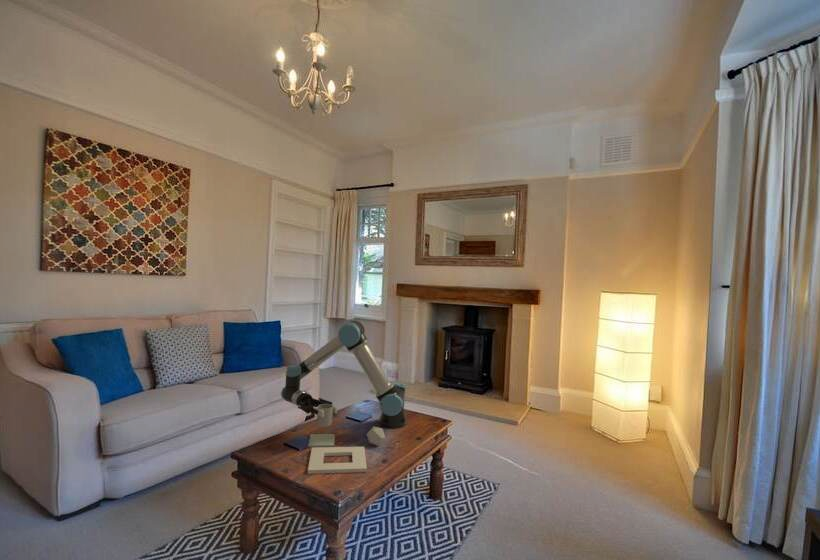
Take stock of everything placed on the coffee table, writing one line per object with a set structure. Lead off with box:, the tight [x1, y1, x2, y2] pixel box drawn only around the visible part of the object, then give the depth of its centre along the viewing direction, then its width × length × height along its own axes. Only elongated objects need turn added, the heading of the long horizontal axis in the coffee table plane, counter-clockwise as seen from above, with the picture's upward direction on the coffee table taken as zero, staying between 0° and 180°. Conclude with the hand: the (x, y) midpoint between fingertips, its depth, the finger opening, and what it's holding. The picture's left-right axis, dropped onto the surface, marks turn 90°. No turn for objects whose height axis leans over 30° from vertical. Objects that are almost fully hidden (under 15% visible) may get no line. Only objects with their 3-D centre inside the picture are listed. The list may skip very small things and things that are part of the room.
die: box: [366, 425, 386, 447], centre depth 180 cm, size 8×9×10 cm
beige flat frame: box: [307, 446, 368, 475], centre depth 161 cm, size 24×20×2 cm
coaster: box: [307, 433, 336, 448], centre depth 179 cm, size 12×12×1 cm
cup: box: [316, 404, 334, 428], centre depth 179 cm, size 7×10×9 cm
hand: (329, 412), depth 176 cm, fingers closed on cup, 7 cm apart
